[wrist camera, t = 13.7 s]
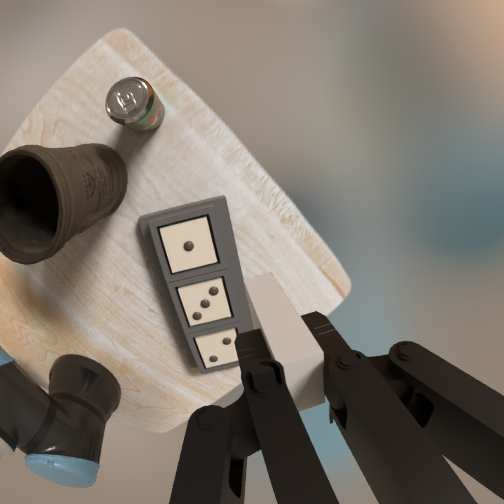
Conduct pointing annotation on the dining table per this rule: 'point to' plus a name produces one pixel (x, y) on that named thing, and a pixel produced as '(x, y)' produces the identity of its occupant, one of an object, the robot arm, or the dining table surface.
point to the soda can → (135, 105)
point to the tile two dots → (218, 347)
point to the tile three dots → (204, 301)
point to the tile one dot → (188, 243)
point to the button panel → (199, 275)
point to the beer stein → (55, 196)
